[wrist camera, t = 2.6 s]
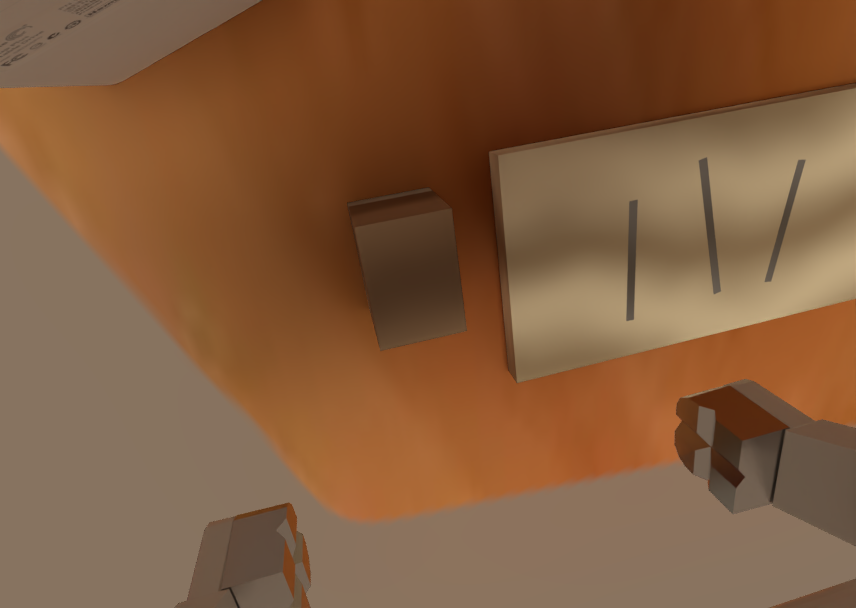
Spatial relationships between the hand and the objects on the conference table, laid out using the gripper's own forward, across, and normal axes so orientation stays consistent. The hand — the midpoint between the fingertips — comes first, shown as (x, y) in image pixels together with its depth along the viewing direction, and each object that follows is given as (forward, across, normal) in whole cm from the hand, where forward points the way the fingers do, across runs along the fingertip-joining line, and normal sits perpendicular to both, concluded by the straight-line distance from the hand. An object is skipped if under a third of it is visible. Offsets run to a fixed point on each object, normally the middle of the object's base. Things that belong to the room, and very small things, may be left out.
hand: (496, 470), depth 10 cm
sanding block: (+14, 0, -1) cm, 14 cm away
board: (+14, -15, +1) cm, 20 cm away
